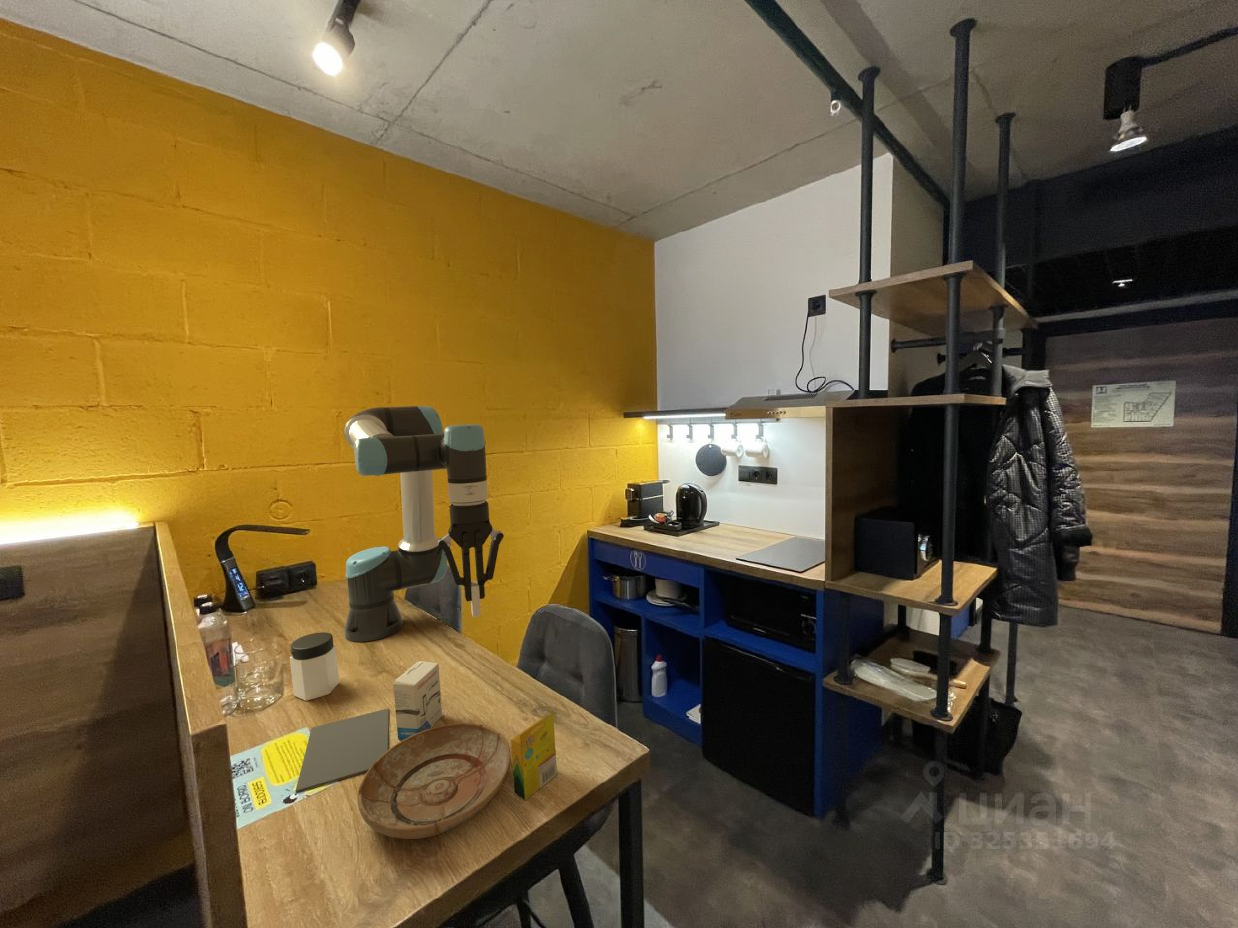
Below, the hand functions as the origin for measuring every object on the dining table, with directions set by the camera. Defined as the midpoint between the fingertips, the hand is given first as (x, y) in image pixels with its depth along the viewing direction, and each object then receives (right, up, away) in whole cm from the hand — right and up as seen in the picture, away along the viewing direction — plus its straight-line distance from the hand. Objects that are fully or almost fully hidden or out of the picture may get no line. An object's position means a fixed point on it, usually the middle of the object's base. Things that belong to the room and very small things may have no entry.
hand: (476, 614), depth 101 cm
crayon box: (+15, -24, -18) cm, 33 cm away
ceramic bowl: (0, -24, -19) cm, 31 cm away
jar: (-40, -21, +12) cm, 47 cm away
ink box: (-11, -22, -2) cm, 25 cm away
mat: (-22, -23, -7) cm, 33 cm away
